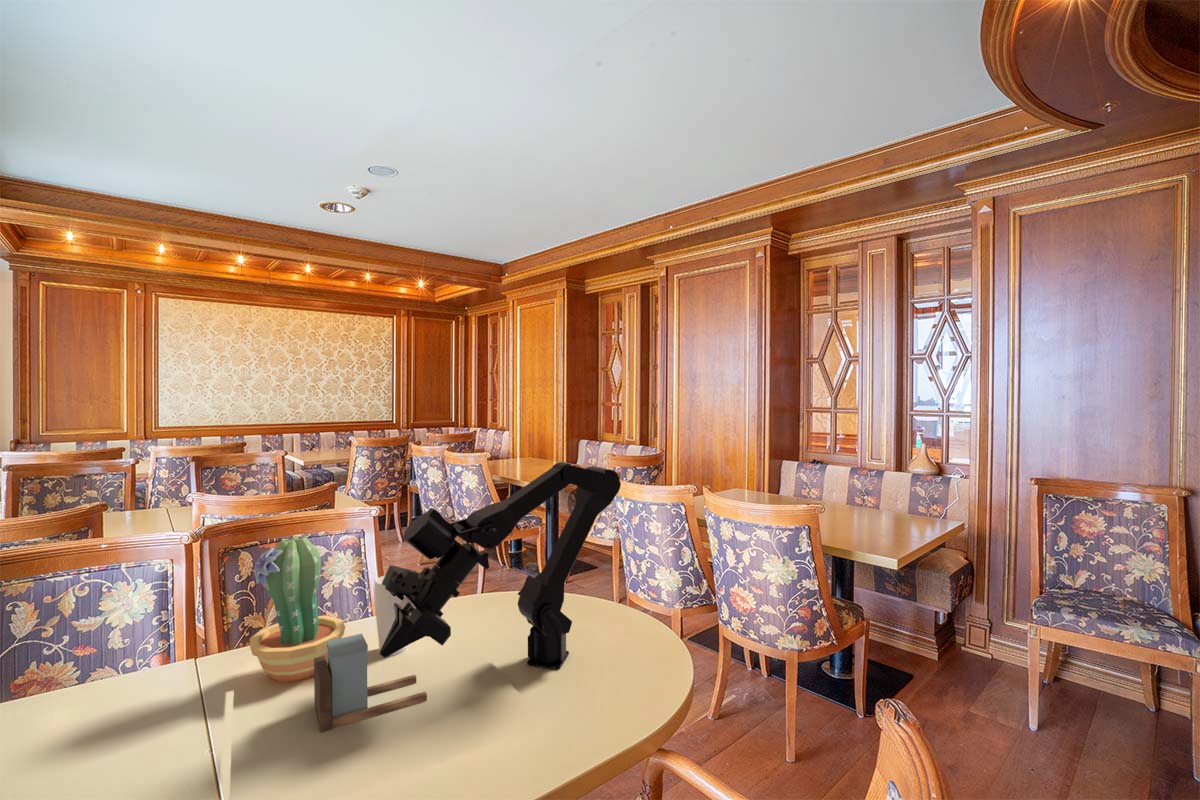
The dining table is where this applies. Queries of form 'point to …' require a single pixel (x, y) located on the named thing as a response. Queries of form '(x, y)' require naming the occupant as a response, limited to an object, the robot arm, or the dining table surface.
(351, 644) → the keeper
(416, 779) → the dining table surface
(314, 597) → the potted cactus
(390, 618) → the drinking glass
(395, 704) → the track
